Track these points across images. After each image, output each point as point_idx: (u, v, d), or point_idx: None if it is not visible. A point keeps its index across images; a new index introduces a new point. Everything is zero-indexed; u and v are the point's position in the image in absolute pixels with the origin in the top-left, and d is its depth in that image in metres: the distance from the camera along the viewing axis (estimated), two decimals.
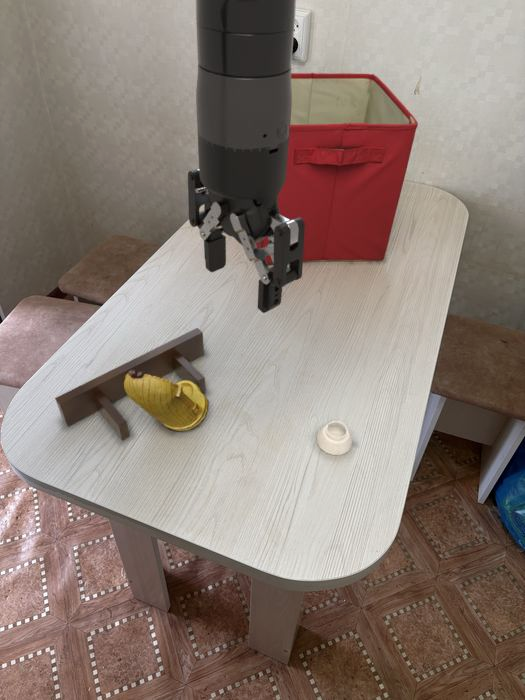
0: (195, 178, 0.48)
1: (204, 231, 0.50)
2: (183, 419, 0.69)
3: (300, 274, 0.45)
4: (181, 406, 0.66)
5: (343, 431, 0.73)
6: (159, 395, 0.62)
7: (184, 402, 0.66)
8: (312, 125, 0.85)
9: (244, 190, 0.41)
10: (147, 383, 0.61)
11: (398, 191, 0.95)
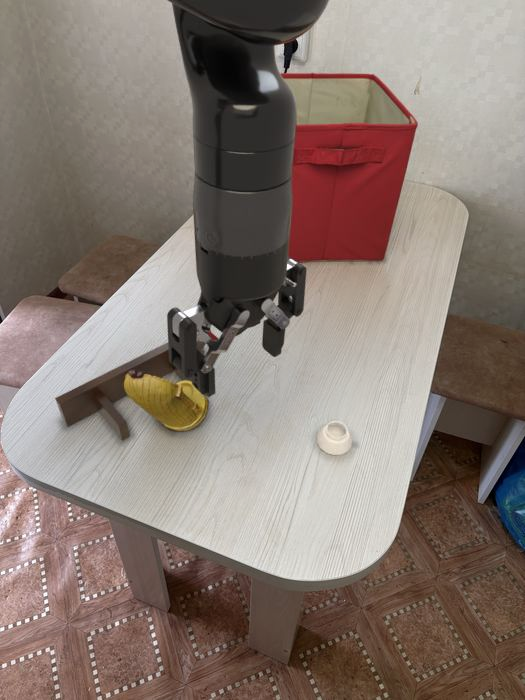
0: None
1: None
2: (183, 419, 0.69)
3: (183, 372, 0.43)
4: (181, 406, 0.66)
5: (343, 431, 0.73)
6: (159, 395, 0.62)
7: (184, 402, 0.66)
8: (312, 125, 0.85)
9: None
10: (147, 383, 0.61)
11: (398, 191, 0.95)
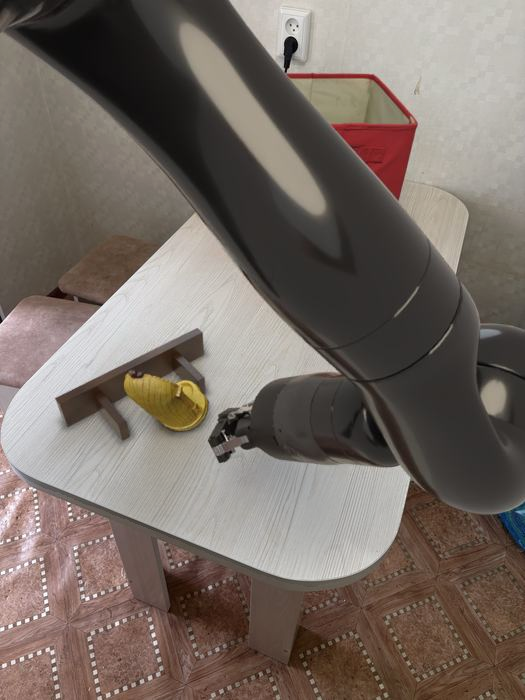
0: None
1: (244, 407, 0.54)
2: (183, 419, 0.69)
3: None
4: (181, 406, 0.66)
5: None
6: (159, 395, 0.62)
7: (184, 402, 0.66)
8: None
9: (254, 412, 0.44)
10: (147, 383, 0.61)
11: (398, 191, 0.95)
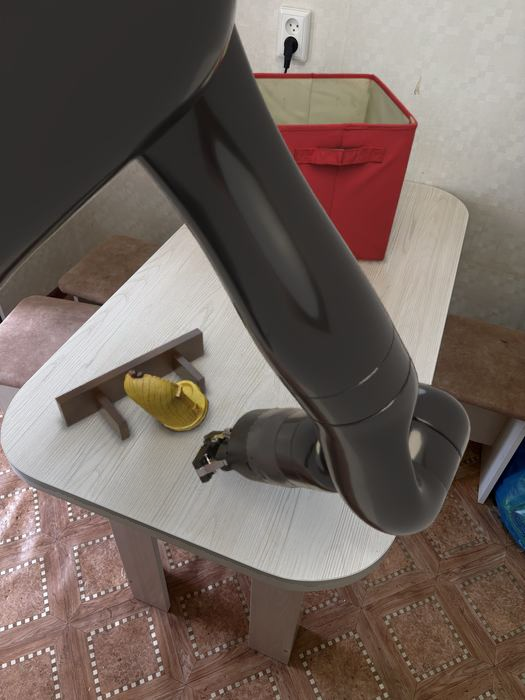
0: None
1: (226, 431, 0.60)
2: (183, 419, 0.69)
3: None
4: (181, 406, 0.66)
5: None
6: (159, 395, 0.62)
7: (184, 402, 0.66)
8: (312, 125, 0.85)
9: (231, 440, 0.51)
10: (147, 383, 0.61)
11: (398, 191, 0.95)
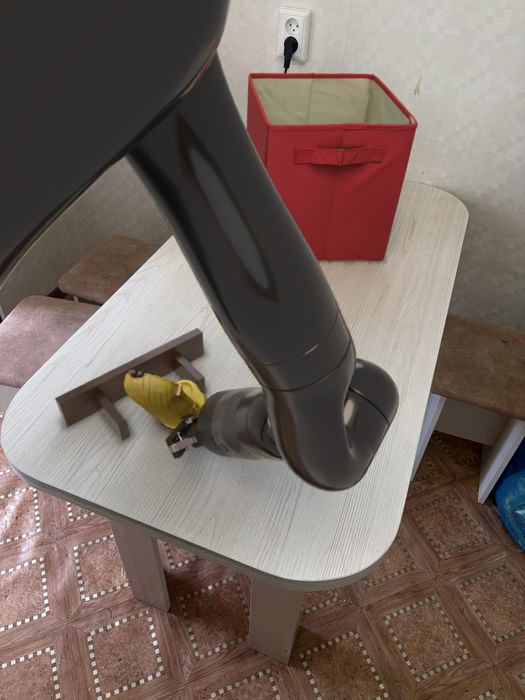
0: None
1: None
2: None
3: None
4: (181, 405, 0.66)
5: None
6: (159, 395, 0.62)
7: (184, 401, 0.66)
8: (312, 125, 0.85)
9: (199, 418, 0.55)
10: (147, 382, 0.61)
11: (398, 191, 0.95)
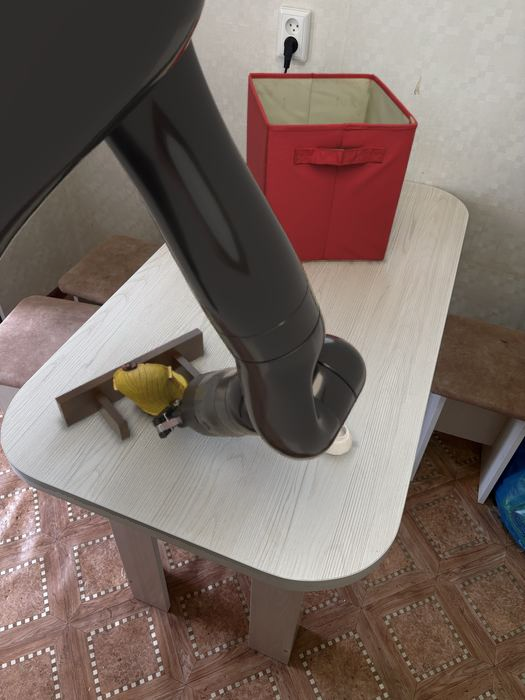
0: None
1: None
2: None
3: None
4: (172, 387, 0.68)
5: (343, 431, 0.73)
6: (156, 381, 0.64)
7: (173, 383, 0.69)
8: (312, 125, 0.85)
9: (183, 398, 0.57)
10: (143, 372, 0.62)
11: (398, 191, 0.95)
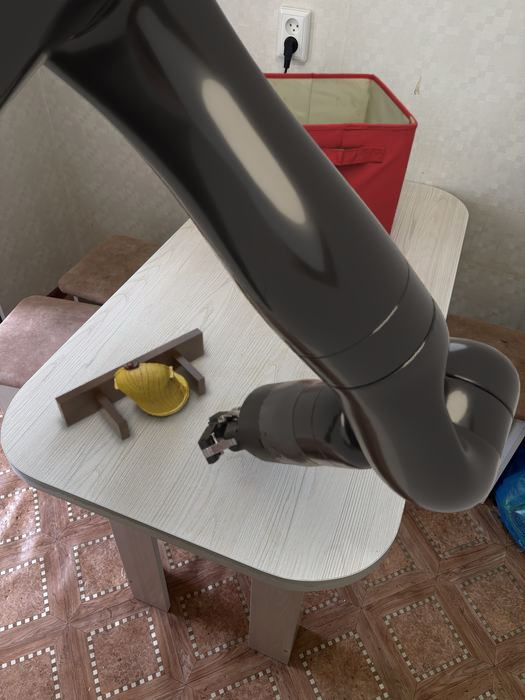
0: None
1: (233, 410, 0.56)
2: (174, 400, 0.71)
3: None
4: (173, 387, 0.68)
5: None
6: (157, 380, 0.64)
7: (174, 383, 0.69)
8: (312, 125, 0.85)
9: (241, 416, 0.47)
10: (144, 371, 0.62)
11: (398, 191, 0.95)
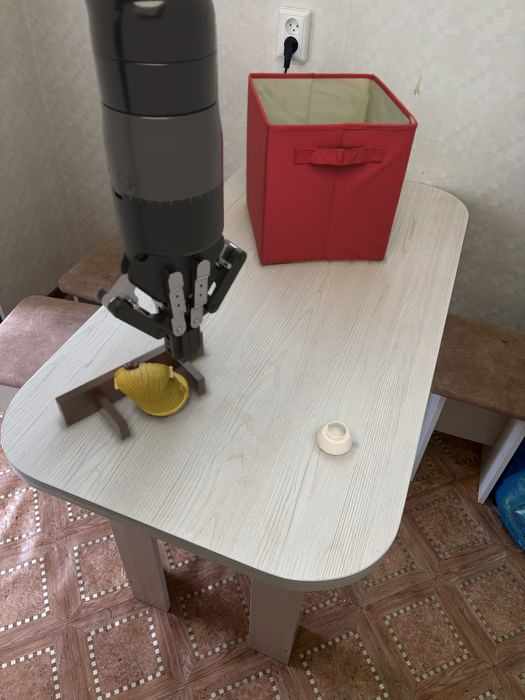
0: None
1: None
2: (174, 400, 0.71)
3: (153, 337, 0.40)
4: (173, 387, 0.68)
5: (343, 431, 0.73)
6: (157, 380, 0.64)
7: (174, 383, 0.69)
8: (312, 125, 0.85)
9: None
10: (144, 371, 0.62)
11: (398, 191, 0.95)
